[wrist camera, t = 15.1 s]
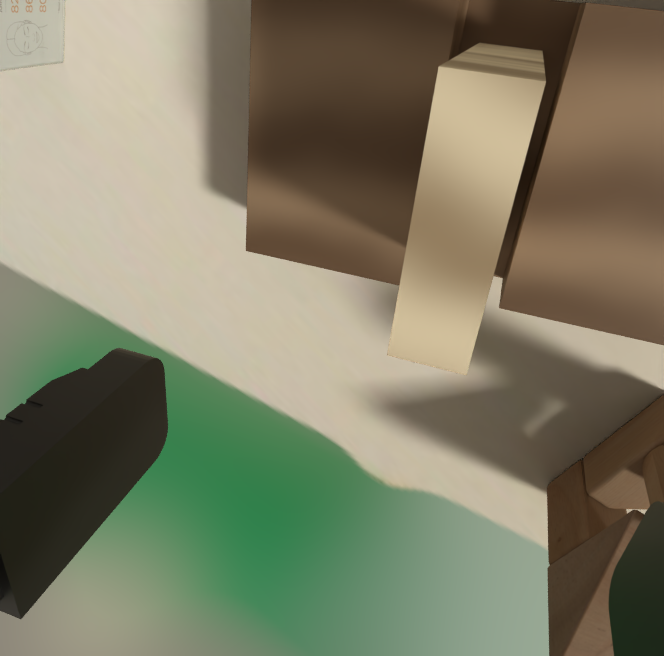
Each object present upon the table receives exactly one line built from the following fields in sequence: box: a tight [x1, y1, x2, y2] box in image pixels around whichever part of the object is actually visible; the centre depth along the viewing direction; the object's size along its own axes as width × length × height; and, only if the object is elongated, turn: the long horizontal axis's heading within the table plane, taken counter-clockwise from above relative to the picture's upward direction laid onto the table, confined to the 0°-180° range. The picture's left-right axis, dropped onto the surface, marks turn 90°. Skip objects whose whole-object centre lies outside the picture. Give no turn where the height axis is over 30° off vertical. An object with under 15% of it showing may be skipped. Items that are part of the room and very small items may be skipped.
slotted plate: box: [246, 0, 664, 345], centre depth 29 cm, size 14×24×5 cm, turn 84°
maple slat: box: [387, 43, 546, 375], centre depth 24 cm, size 10×3×14 cm, turn 174°
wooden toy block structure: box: [547, 395, 664, 656], centre depth 30 cm, size 4×11×18 cm, turn 151°
